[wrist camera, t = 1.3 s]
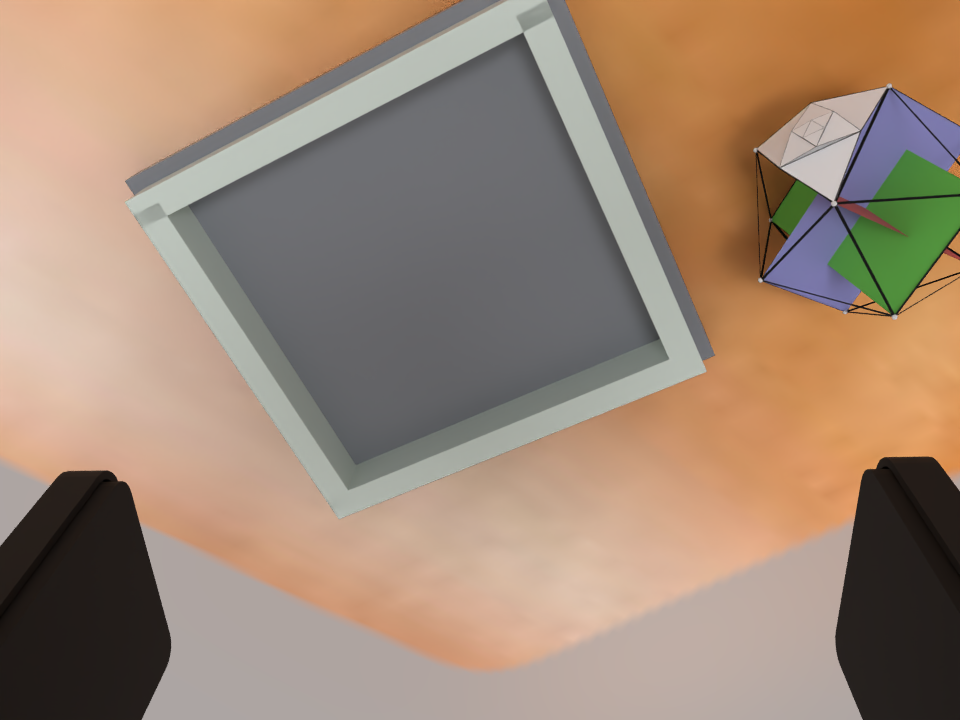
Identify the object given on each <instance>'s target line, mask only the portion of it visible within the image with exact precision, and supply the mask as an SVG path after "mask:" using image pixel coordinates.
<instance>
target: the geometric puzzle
mask: <svg viewBox="0 0 960 720" xmlns="http://www.w3.org/2000/svg"><path fill="white" fill-rule="evenodd" d="M753 151H754V152H755V153H756V155H757V159H756V176H757V160H758V165H759V169H760V174H761V178H762V183H763V188H764V192H765V197H766V201H767V206H768V211H769V215H770V218H769V222H770V226H769V231H768V237H767V243H766V248H765V254H764V260H763V265H762V271H761V273H760V278H759V279H758V282H760V283H761V282H765V283H768V284H771V285H773V286H776V287H779V288H781V289H784V290H787V291H789V292H792V293H795V294H798V295H800V296H803V297H806V298H808V299H811V300H814V301H817V302H819V303H822V304H825V305H827V306H830V307H833V308H836V309H838V310H841V311H843V314H847V312H848V313H858V312H849V311H852V310H855V309H858V308H863V309H867V310H870V311H874V312H878V313H881V314H885V315H880V314H869V313H859V314H869V315H880V316H890V317H892V319H894V320H895V319H897V315H899V314H900V313H902V312H904V311H905V310H907V309H909V308H910V307H912V306H913V305H912V306H910V307H909V308H907V309H905V310H904V311H902V312H900V313H899V311H900V310H901V309H902V307H903V306H904V305H905V303H906V302H907V301H908V299H909V298H910V297H911V295H912V294H913V293H914V291H915V290H916V289H917V288H919V287H922V286H925V285H928V284H931V283H934V282H937V281H940V280H942V279H945V278H948V277H951V276H954V275H957V274H960V272H959V273H956V274H953V275H950V276H947V277H944V278H941V279H938V280H935V281H932V282H929V283H927V284H924V285H921V286H919V285H920V283H921V282H922V281H923V279H924V278H925V277H926V275H927V274H928V273H929V271H930V270H931V269H932V267H933V266H934V265H935V263H936V262H937V261H938V259H939V258H940V257H941V255H942V254H943V253H945V254H947V255H950V256H952V257H954V258H956V259H958V260H960V254H958V253H956V252H955V251H953V250H952V249H950V248H949V247H948V246H949V245H950V243H951V242H952V241H953V239H954V238H955V237H956V235H957V234H958V233H959V231H960V178H958V177H956V176H954V175H953V174H951V173H949V172H947V171H948V170H949V168H950V167H951V166H952V164H953V163H954V161H956V162H957V163H958V164H959V165H960V162H959V161H958V160H957V157H958V156H959V155H960V126H959V125H957V124H956V123H954V122H952V121H950V120H949V119H947V118H945V117H943V116H941V115H940V114H938V113H936V112H934V111H933V110H931V109H929V108H927V107H926V106H924V105H922V104H920V103H919V102H917V101H915V100H913V99H912V98H910V97H908V96H906V95H905V94H903V93H901V92H899V91H898V90H896V89H894V88H892V84H890V83H888V84H887V85H886V87H881V88H876V89H872V90H867V91H862V92H858V93H853V94H848V95H844V96H839V97H834V98H830V99H825V100H820V101H816V102H811V103H810V104H809V105H807V106H806V107H805V108H804V109H803V110H802V111H800V112H799V113H798V114H797V115H796V116H794V117H793V118H792V119H791V120H790V121H789V122H787V123H786V124H785V125H784V126H783V127H781V128H780V129H779V130H778V131H777V132H776V133H774V134H773V135H772V136H771V137H770V138H768V139H767V140H766V141H765V142H764V143H763V144H761V145H760V146H759V147H758V148H754V149H753ZM758 153H760V154H761V155H763V156H764V157H765V158H767V159H768V160H769V161H770V162H772V163H773V164H774V165H775V166H776V167H778V168H779V169H780V170H782V171H784V172H785V173H787V174H788V175H790V176H792V177H793V178H795V179H796V181H795V182H794V184H793V186H792V187H791V189H790V190H789V192H788V193H787V195H786V196H785V198H784V199H783V201H782V203H781V204H780V206H779V207H778V209H777V210H776V212H775V213H774V215H773V216H772V217H771V213H770V208H769V203H768V199H767V194H766V189H765V185H764V180H763V175H762V171H761V166H760V161H759V157H758ZM757 205H758V187H757ZM772 223H773V224H774V226H775V227H776V228H777V229H778V230H779V232H780V233H781V234H782V235H783V237H784V238H785V239H786V240H787V241H786V242H785V244H784V245H783V247H782V248H781V250H780V251H779V253H778V255H777V256H776V258H775V259H774V261H773V262H772V264H771V265H770V267H769V268H768V270H767V271H766V273H765V274H764V276H763V270H764V264H765V258H766V253H767V247H768V241H769V236H770V230H771V224H772ZM779 227H780V228H782V229H783V230H784V231H785V232H787V233H788V234H789V235H790V236H789V238H787V236H786V235H785V234H784V233H783V231H782V230H781V229H780V228H779ZM758 233H759V216H758ZM759 262H760V244H759ZM762 276H763V277H762ZM958 278H960V277H958ZM958 278H957V279H958ZM957 279H955V280H957ZM955 280H954V281H955ZM952 282H953V281H952ZM952 282H950V283H952ZM950 283H949V284H950ZM947 285H948V284H947ZM947 285H945V286H947ZM945 286H944V287H945ZM942 288H943V287H942ZM942 288H940V289H942ZM940 289H939V290H940ZM861 291H862V292H863V293H865V294H866V295H867V296H868V297H870V298H871V299H872V300H874V302H871V303H868V304H865V305H862V306H857V305H854V304H852V303H853V302H854V300H855V299H856V297H857V296H858V295H859V293H860V292H861ZM937 291H938V290H937ZM937 291H935V292H937ZM935 292H934V293H935ZM932 294H933V293H932ZM932 294H930V295H932ZM930 295H929V296H930ZM927 297H928V296H927ZM927 297H925V298H927ZM925 298H924V299H925ZM922 300H923V299H922ZM922 300H920V301H922ZM920 301H919V302H920ZM875 302H876V303H877V304H879V305H880V306H881V307H883V308H884V309H885V310H886V311H888V312H889V313H890V314H887V313H883V312H880V311H876V310H872V309H868V308H865V307H864V306H867V305H869V304H872V303H875ZM917 303H918V302H917ZM917 303H915V304H917ZM915 304H914V305H915ZM851 305H852V306H855V307H857V308H854V309H851V310H848V309H849V307H850V306H851ZM898 313H899V314H898Z"/></svg>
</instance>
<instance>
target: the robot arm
mask: <svg viewBox="0 0 960 720" xmlns="http://www.w3.org/2000/svg"><path fill="white" fill-rule="evenodd" d="M835 638H836V652H837V656H838V660H839V663H840V666H841V668H842V671H843V673H844V675H845V678H846V681H847V683H848V685H849V688H850V690H851V692H852V695H853V697H854V700H855V702H856V704H857V707H858V709H859V712H860V714H861V717H862V719H863V720H960V491H959V490H958V488H957V487H956V486H955V484H954V483H953V482H952V480H951V479H950V478H949V476H948V475H947V474H946V472H945V471H944V469H943V468H942V467H941V465H940V464H939V463H938V462H937V461H936V460H935V459H934V458H932V457H884V458H882V459H881V460H880V461H879V463H878V465H877V468H876V469H867V470H866V471H865V472H864V474H863V476H862V480H861V485H860V491H859V497H858V503H857V509H856V515H855V521H854V527H853V533H852V539H851V545H850V551H849V557H848V562H847V568H846V574H845V580H844V586H843V592H842V598H841V604H840V610H839V616H838V622H837V628H836V636H835ZM170 652H171V637H170V633H169V629H168V625H167V621H166V618H165V615H164V610H163V607H162V603H161V600H160V596H159V592H158V589H157V585H156V581H155V578H154V574H153V570H152V567H151V563H150V559H149V556H148V552H147V548H146V545H145V541H144V537H143V534H142V530H141V526H140V523H139V519H138V515H137V512H136V508H135V504H134V501H133V497H132V493H131V490H130V488H129V486H128V485H127V483H125V482H123V481H117V478H116V476H115V475H114V474H113V473H112V472H110V471H67V472H63V473H62V474H60V475H59V476H58V477H57V478H56V479H55V481H54V482H53V483H52V484H51V486H50V487H49V488H48V489H47V490H46V492H45V493H44V494H43V495H42V497H41V498H40V499H39V500H38V501H37V502H36V504H35V505H34V506H33V507H32V509H31V510H30V511H29V512H28V513H27V515H26V516H25V517H24V518H23V519H22V521H21V522H20V523H19V524H18V526H17V527H16V528H15V529H14V530H13V532H12V533H11V534H10V535H9V536H8V538H7V539H6V540H5V541H4V543H3V544H2V545H1V546H0V720H142V718H143V715H144V713H145V711H146V709H147V707H148V705H149V703H150V701H151V699H152V697H153V694H154V692H155V690H156V688H157V686H158V684H159V682H160V680H161V677H162V676H163V673H164V671H165V669H166V667H167V664H168V662H169V657H170Z"/></svg>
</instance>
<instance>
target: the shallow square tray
mask: <svg viewBox="0 0 960 720" xmlns="http://www.w3.org/2000/svg"><path fill="white" fill-rule="evenodd" d="M125 182H126V183H127V185H128V186H129V188H130V189H131V191H132V192H133V194H134V196H133V197H131V198H130V199H128V200H127V201H126V202H125V203H126V205H127V206H128V208H129V209H130V211H131V212H132V214H133V215H134V217H135V218H136V220H137V221H138V222H139V224H140V225H141V227H142V228H143V230H144V231H145V233H146V234H147V236H148V237H149V239H150V240H151V242H152V243H153V245H154V246H155V248H156V249H157V251H158V252H159V254H160V255H161V257H162V258H163V260H164V261H165V262H166V264H167V265H168V267H169V268H170V270H171V271H172V273H173V274H174V276H175V277H176V279H177V280H178V282H179V283H180V285H181V286H182V288H183V289H184V291H185V292H186V294H187V295H188V297H189V298H190V300H191V301H192V302H193V304H194V305H195V307H196V308H197V310H198V311H199V313H200V314H201V316H202V317H203V319H204V320H205V322H206V323H207V325H208V326H209V328H210V329H211V331H212V332H213V334H214V335H215V337H216V338H217V339H218V341H219V342H220V344H221V345H222V347H223V348H224V350H225V351H226V353H227V354H228V356H229V357H230V359H231V360H232V362H233V363H234V365H235V366H236V368H237V369H238V371H239V372H240V374H241V375H242V377H243V378H244V379H245V381H246V382H247V384H248V385H249V387H250V388H251V390H252V391H253V393H254V394H255V396H256V397H257V399H258V400H259V402H260V403H261V405H262V406H263V408H264V409H265V411H266V412H267V414H268V415H269V417H270V418H271V419H272V421H273V422H274V424H275V425H276V427H277V428H278V430H279V431H280V433H281V434H282V436H283V437H284V439H285V440H286V442H287V443H288V445H289V446H290V448H291V449H292V451H293V452H294V454H295V455H296V456H297V458H298V459H299V461H300V462H301V464H302V465H303V467H304V468H305V470H306V471H307V473H308V474H309V476H310V477H311V479H312V480H313V482H314V483H315V485H316V486H317V488H318V489H319V491H320V492H321V494H322V495H323V496H324V498H325V499H326V501H327V502H328V504H329V505H330V507H331V508H332V510H333V511H334V513H335V514H336V516H337V517H338V519H341V518H343V517H346V516H348V515H351V514H353V513H356V512H358V511H361V510H363V509H366V508H368V507H371V506H373V505H376V504H378V503H381V502H383V501H386V500H388V499H391V498H393V497H396V496H398V495H401V494H403V493H406V492H408V491H411V490H413V489H415V488H418V487H420V486H423V485H425V484H428V483H430V482H433V481H435V480H438V479H440V478H443V477H445V476H448V475H450V474H453V473H455V472H458V471H460V470H463V469H465V468H468V467H470V466H473V465H475V464H478V463H480V462H483V461H485V460H488V459H490V458H493V457H495V456H498V455H500V454H503V453H505V452H508V451H510V450H513V449H515V448H518V447H520V446H523V445H525V444H528V443H530V442H533V441H535V440H538V439H540V438H543V437H545V436H548V435H550V434H553V433H555V432H558V431H560V430H562V429H565V428H567V427H570V426H572V425H575V424H577V423H580V422H582V421H585V420H587V419H590V418H592V417H595V416H597V415H600V414H602V413H605V412H607V411H610V410H612V409H615V408H617V407H620V406H622V405H625V404H627V403H630V402H632V401H635V400H637V399H640V398H642V397H645V396H647V395H650V394H652V393H655V392H657V391H660V390H662V389H665V388H667V387H670V386H672V385H675V384H677V383H680V382H682V381H685V380H687V379H690V378H692V377H695V376H697V375H700V374H702V373H705V372H707V371H706V369H705V366H704V364H703V362H702V361H703V360H705V359H708V358H710V357H713V356H715V354H714V352H713V349H712V347H711V345H710V342H709V340H708V338H707V335H706V333H705V331H704V328H703V326H702V323H701V321H700V319H699V316H698V314H697V312H696V309H695V307H694V305H693V302H692V300H691V297H690V295H689V293H688V290H687V288H686V286H685V283H684V281H683V279H682V276H681V274H680V271H679V269H678V267H677V264H676V262H675V260H674V257H673V255H672V252H671V250H670V248H669V245H668V243H667V241H666V238H665V236H664V234H663V231H662V229H661V226H660V224H659V222H658V219H657V217H656V215H655V212H654V210H653V208H652V205H651V203H650V200H649V198H648V196H647V193H646V191H645V189H644V186H643V184H642V182H641V179H640V177H639V174H638V172H637V170H636V167H635V165H634V163H633V160H632V158H631V156H630V153H629V151H628V148H627V146H626V144H625V141H624V139H623V137H622V134H621V132H620V130H619V127H618V125H617V122H616V120H615V118H614V115H613V113H612V111H611V108H610V106H609V104H608V101H607V99H606V96H605V94H604V92H603V89H602V87H601V85H600V82H599V80H598V78H597V75H596V73H595V70H594V68H593V66H592V63H591V61H590V59H589V56H588V54H587V52H586V49H585V47H584V44H583V42H582V40H581V37H580V35H579V33H578V30H577V28H576V26H575V23H574V21H573V18H572V16H571V14H570V11H569V9H568V7H567V4H566V2H565V0H461V1H459V2H457V3H455V4H453V5H452V6H450V7H448V8H446V9H444V10H442V11H440V12H438V13H437V14H435V15H433V16H431V17H429V18H427V19H425V20H423V21H422V22H420V23H418V24H416V25H414V26H412V27H410V28H408V29H407V30H405V31H403V32H401V33H399V34H397V35H395V36H393V37H392V38H390V39H388V40H386V41H384V42H382V43H380V44H378V45H377V46H375V47H373V48H371V49H369V50H367V51H365V52H363V53H362V54H360V55H358V56H356V57H354V58H352V59H350V60H348V61H347V62H345V63H343V64H341V65H339V66H337V67H335V68H333V69H332V70H330V71H328V72H326V73H324V74H322V75H320V76H318V77H317V78H315V79H313V80H311V81H309V82H307V83H305V84H303V85H302V86H300V87H298V88H296V89H294V90H292V91H290V92H288V93H287V94H285V95H283V96H281V97H279V98H277V99H275V100H273V101H272V102H270V103H268V104H266V105H264V106H262V107H260V108H258V109H257V110H255V111H253V112H251V113H249V114H247V115H245V116H243V117H242V118H240V119H238V120H236V121H234V122H232V123H230V124H228V125H227V126H225V127H223V128H221V129H219V130H217V131H215V132H213V133H212V134H210V135H208V136H206V137H204V138H202V139H200V140H198V141H197V142H195V143H193V144H191V145H189V146H187V147H185V148H183V149H182V150H180V151H178V152H176V153H174V154H172V155H170V156H168V157H167V158H165V159H163V160H161V161H159V162H157V163H155V164H153V165H152V166H150V167H148V168H146V169H144V170H142V171H140V172H138V173H137V174H135V175H133V176H132V177H130V178H129V179H127V180H126V181H125Z"/></svg>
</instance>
